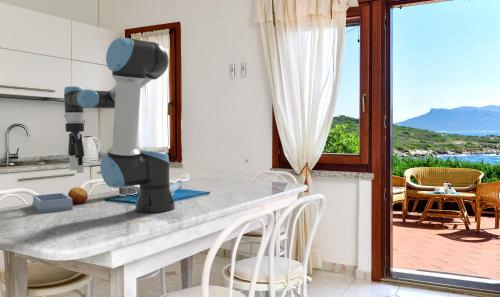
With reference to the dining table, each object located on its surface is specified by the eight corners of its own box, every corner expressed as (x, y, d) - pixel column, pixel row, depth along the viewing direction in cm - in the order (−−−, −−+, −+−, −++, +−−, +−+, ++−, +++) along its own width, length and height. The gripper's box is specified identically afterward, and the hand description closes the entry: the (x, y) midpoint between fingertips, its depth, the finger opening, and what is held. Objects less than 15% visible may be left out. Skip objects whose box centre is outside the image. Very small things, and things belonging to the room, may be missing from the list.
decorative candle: (114, 196, 211) (112, 143, 209) (125, 193, 220) (123, 143, 218) (130, 196, 208) (128, 143, 207) (141, 193, 217) (139, 142, 215)
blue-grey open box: (62, 202, 197) (61, 192, 196) (72, 209, 178) (72, 198, 178) (32, 205, 190) (32, 194, 190) (40, 213, 172) (39, 201, 171)
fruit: (73, 198, 198) (80, 183, 196) (86, 207, 196) (93, 192, 194) (60, 201, 191) (67, 185, 189) (73, 211, 189) (80, 195, 187)
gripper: (60, 122, 199) (61, 169, 200) (71, 122, 178) (73, 174, 179) (77, 122, 203) (79, 168, 204) (90, 122, 182) (92, 173, 184)
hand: (76, 171), depth 192 cm, fingers open, 13 cm apart
